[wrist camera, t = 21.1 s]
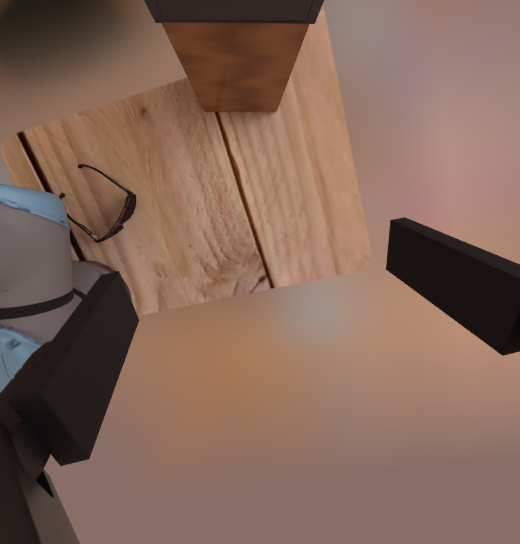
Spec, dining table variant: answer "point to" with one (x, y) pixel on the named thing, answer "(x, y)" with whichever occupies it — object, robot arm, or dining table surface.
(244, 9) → the tray
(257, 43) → the stand
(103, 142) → the dining table surface
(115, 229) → the sunglasses
